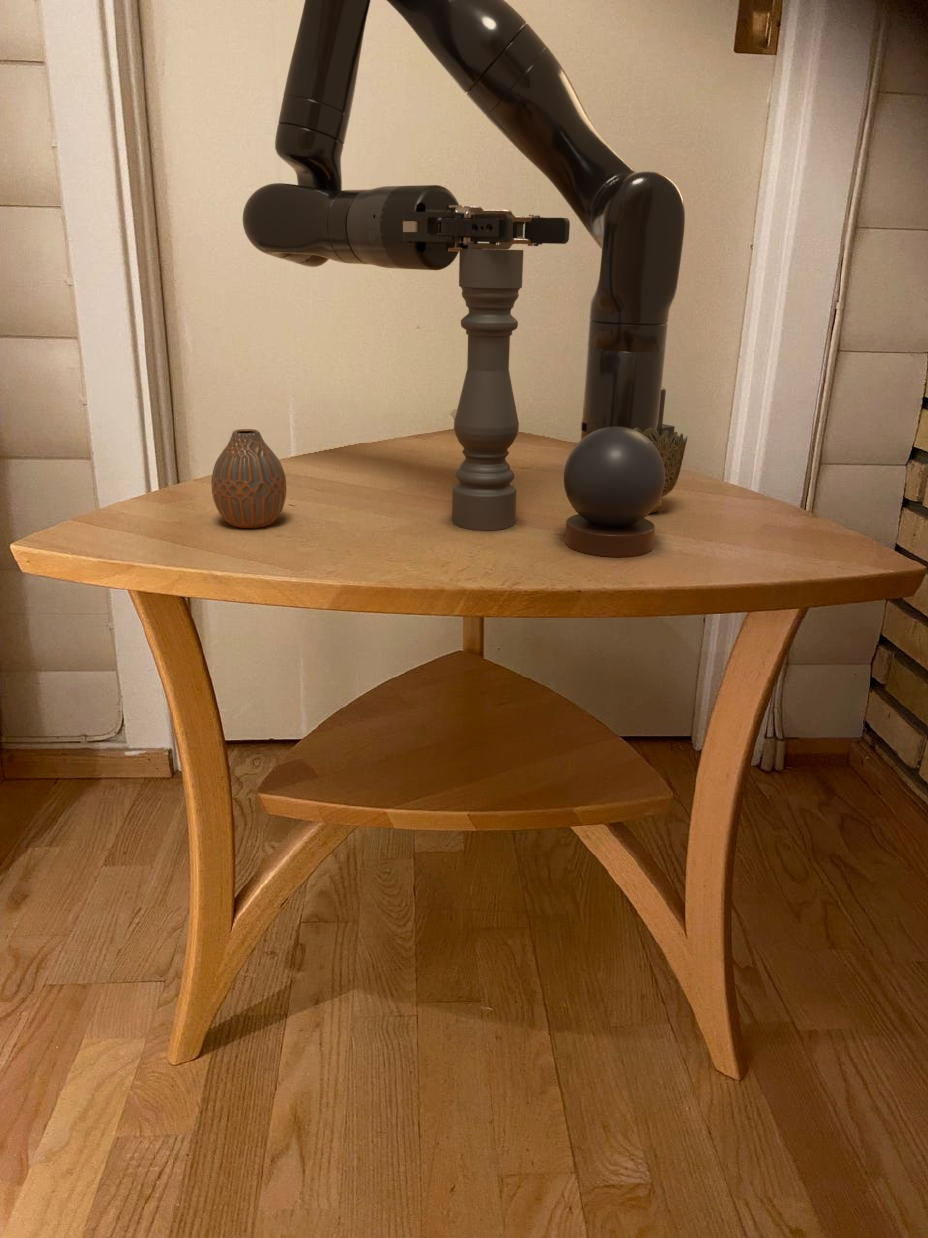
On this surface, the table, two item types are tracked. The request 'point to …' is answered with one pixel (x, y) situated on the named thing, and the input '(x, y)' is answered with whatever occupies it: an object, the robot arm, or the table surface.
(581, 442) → the ball on stand
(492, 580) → the table surface
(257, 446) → the vase
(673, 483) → the spiky textured bowl
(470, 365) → the candle holder
